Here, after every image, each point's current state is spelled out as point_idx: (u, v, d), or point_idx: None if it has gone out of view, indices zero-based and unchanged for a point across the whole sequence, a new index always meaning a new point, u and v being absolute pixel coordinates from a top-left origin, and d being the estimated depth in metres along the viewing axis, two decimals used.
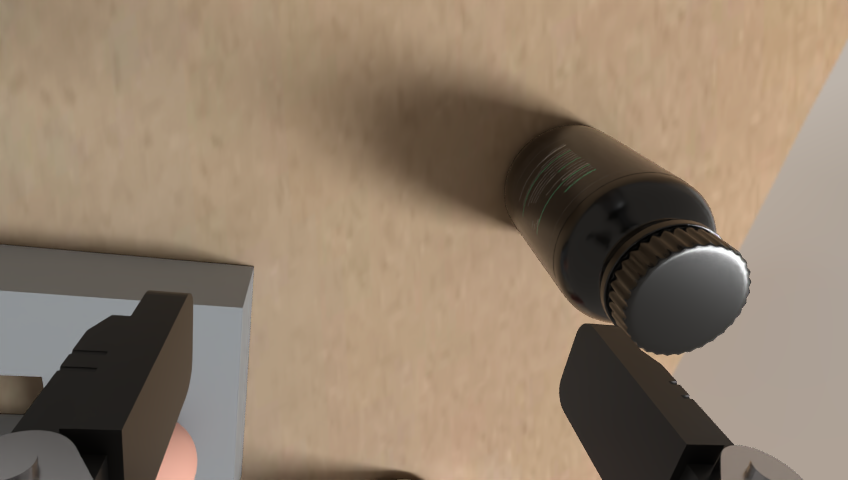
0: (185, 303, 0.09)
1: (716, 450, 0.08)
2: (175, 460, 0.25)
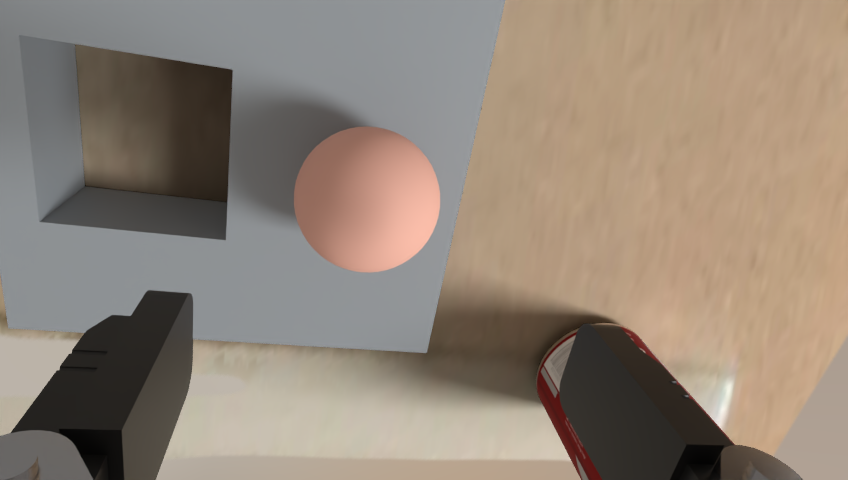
0: (185, 303, 0.09)
1: (715, 451, 0.08)
2: (429, 171, 0.17)
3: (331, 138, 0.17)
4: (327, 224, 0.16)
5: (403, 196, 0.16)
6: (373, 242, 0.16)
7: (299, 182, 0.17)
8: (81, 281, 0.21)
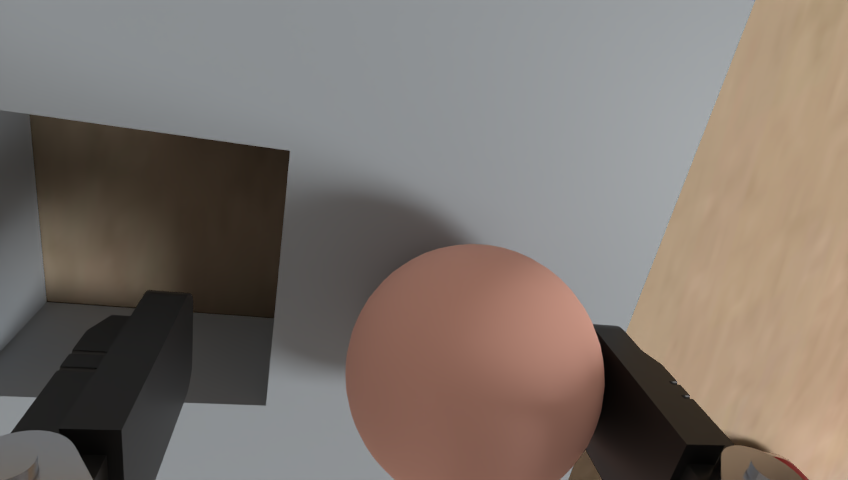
0: (185, 303, 0.09)
1: (716, 451, 0.08)
2: (587, 351, 0.09)
3: (417, 263, 0.10)
4: (377, 427, 0.09)
5: (524, 406, 0.08)
6: None
7: (354, 330, 0.10)
8: None
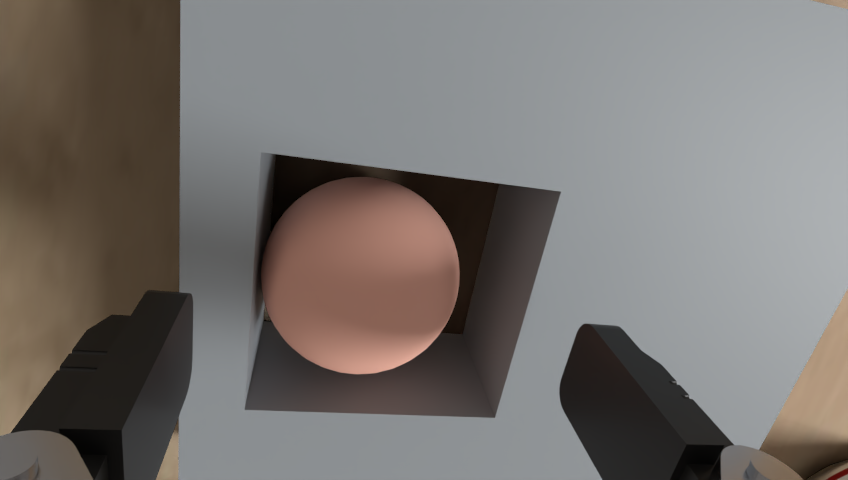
0: (185, 303, 0.09)
1: (715, 451, 0.08)
2: None
3: (422, 221, 0.12)
4: None
5: None
6: None
7: (453, 286, 0.13)
8: None
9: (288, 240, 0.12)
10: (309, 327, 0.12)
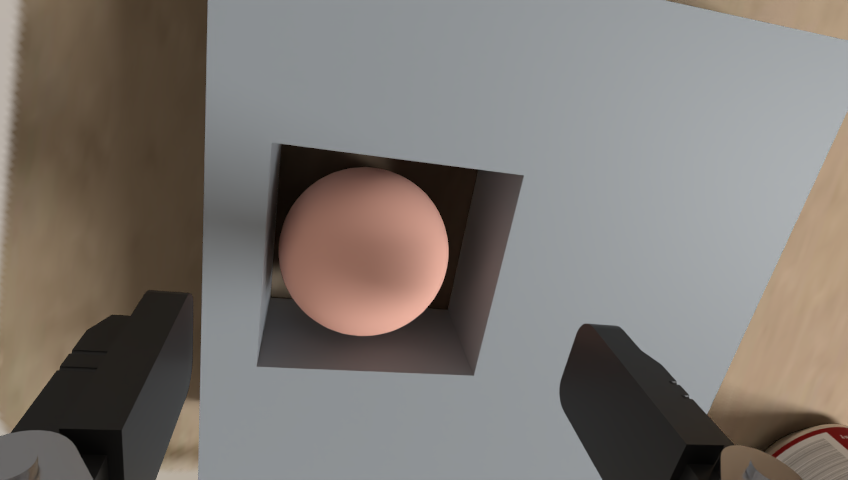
0: (185, 303, 0.09)
1: (716, 451, 0.08)
2: None
3: (418, 202, 0.15)
4: None
5: None
6: None
7: (445, 256, 0.15)
8: (295, 432, 0.16)
9: (306, 221, 0.14)
10: (330, 294, 0.14)
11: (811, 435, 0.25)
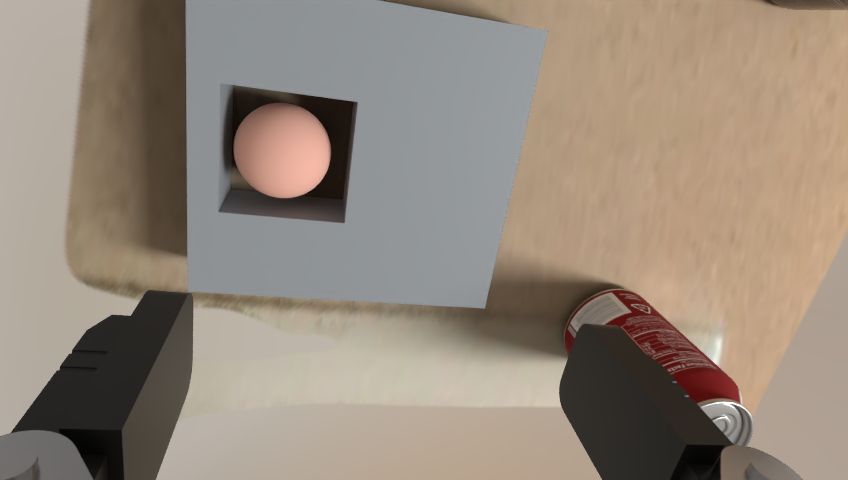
0: (185, 303, 0.09)
1: (716, 450, 0.08)
2: None
3: (309, 118, 0.27)
4: None
5: None
6: None
7: (326, 149, 0.28)
8: (242, 255, 0.29)
9: (247, 129, 0.26)
10: (261, 166, 0.26)
11: (601, 294, 0.37)
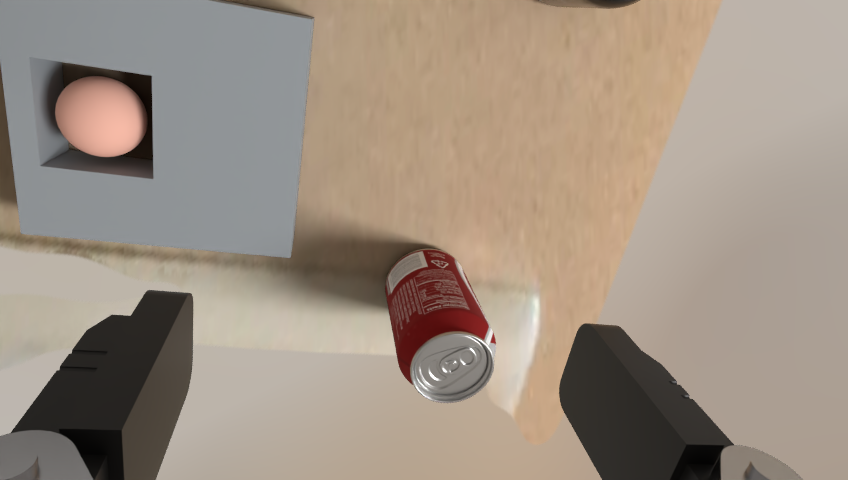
0: (185, 303, 0.09)
1: (716, 450, 0.08)
2: None
3: (119, 89, 0.33)
4: (147, 122, 0.35)
5: None
6: None
7: (138, 115, 0.33)
8: (65, 204, 0.34)
9: (63, 97, 0.32)
10: (75, 128, 0.32)
11: (413, 253, 0.43)
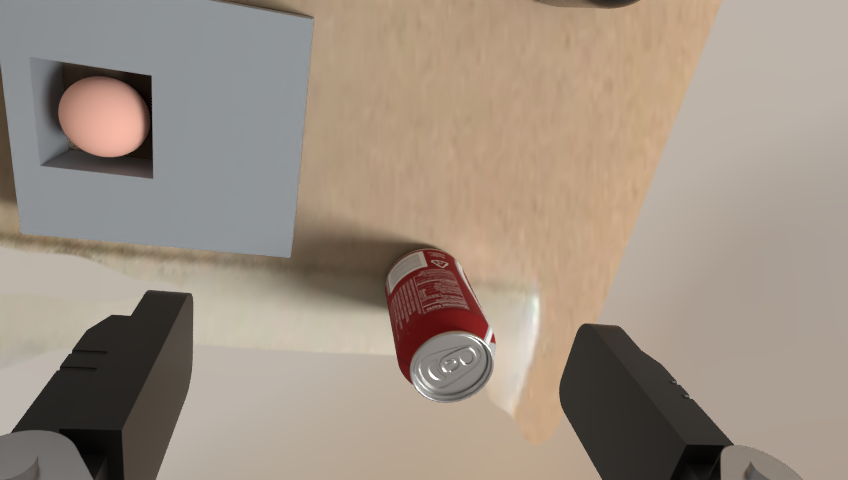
0: (185, 303, 0.09)
1: (715, 451, 0.08)
2: None
3: (124, 89, 0.33)
4: None
5: None
6: None
7: (142, 115, 0.33)
8: (65, 204, 0.34)
9: (67, 98, 0.32)
10: (81, 129, 0.32)
11: (413, 253, 0.43)
